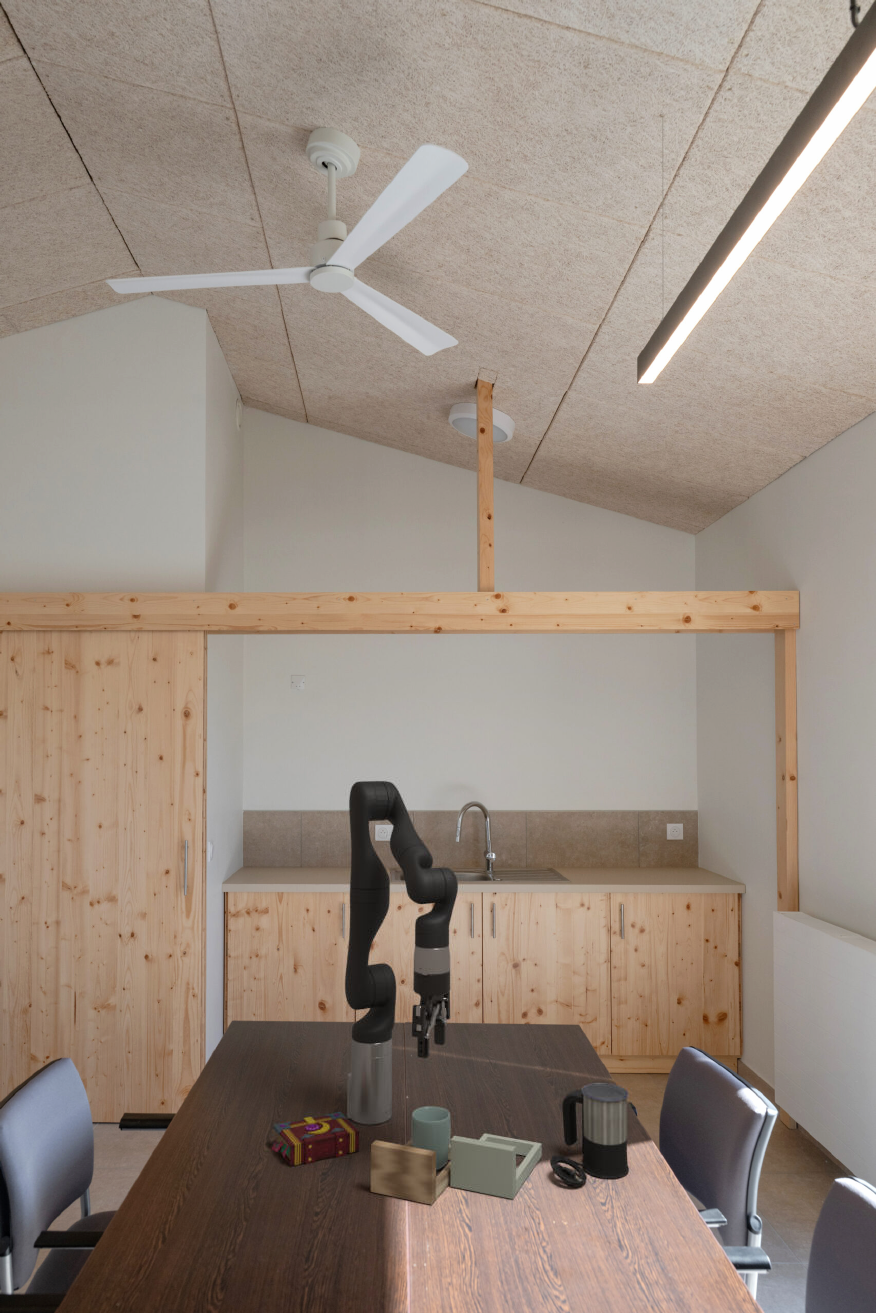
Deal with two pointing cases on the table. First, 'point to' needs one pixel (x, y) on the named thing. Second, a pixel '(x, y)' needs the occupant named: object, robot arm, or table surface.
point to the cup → (432, 1132)
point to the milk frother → (595, 1133)
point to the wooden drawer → (407, 1172)
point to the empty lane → (492, 1164)
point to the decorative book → (316, 1139)
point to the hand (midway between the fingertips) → (431, 1050)
